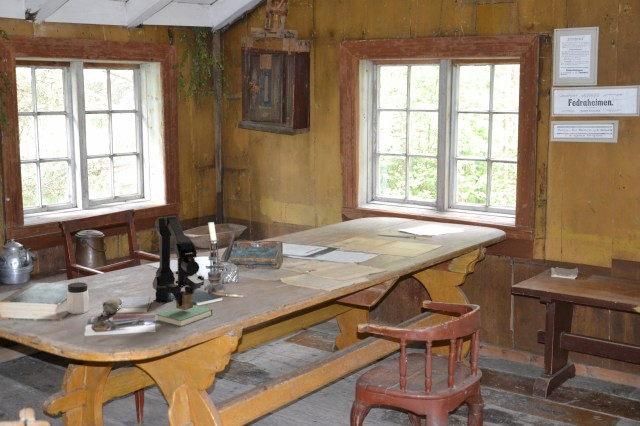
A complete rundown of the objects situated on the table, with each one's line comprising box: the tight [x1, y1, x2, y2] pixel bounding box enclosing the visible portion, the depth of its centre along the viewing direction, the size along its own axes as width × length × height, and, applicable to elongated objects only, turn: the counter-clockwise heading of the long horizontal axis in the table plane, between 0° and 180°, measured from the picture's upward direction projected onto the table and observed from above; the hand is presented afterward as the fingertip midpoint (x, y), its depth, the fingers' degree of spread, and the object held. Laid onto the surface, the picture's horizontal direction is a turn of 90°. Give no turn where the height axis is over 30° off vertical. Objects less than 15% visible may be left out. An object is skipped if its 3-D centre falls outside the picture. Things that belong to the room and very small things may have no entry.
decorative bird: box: [100, 297, 123, 318], centre depth 356 cm, size 5×16×8 cm, turn 170°
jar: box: [66, 281, 90, 315], centre depth 359 cm, size 9×8×12 cm
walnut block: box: [175, 291, 194, 310], centre depth 353 cm, size 5×5×6 cm
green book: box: [155, 304, 213, 327], centre depth 354 cm, size 20×14×3 cm
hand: (184, 304), depth 353 cm, fingers closed on walnut block, 5 cm apart
